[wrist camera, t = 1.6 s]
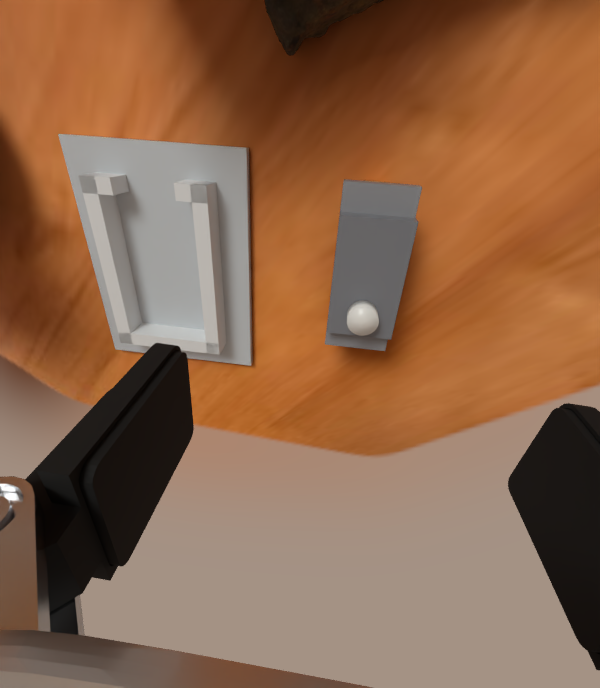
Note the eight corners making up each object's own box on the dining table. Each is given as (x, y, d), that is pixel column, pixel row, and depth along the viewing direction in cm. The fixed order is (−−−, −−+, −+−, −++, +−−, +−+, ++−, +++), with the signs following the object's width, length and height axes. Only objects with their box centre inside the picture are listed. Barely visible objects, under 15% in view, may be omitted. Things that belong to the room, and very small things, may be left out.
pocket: (248, 147, 21) (238, 149, 19) (252, 361, 30) (245, 378, 28) (64, 134, 22) (36, 134, 20) (119, 345, 30) (103, 360, 28)
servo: (410, 178, 21) (429, 193, 16) (380, 323, 26) (387, 368, 21) (344, 173, 21) (343, 186, 16) (328, 317, 27) (323, 361, 21)
